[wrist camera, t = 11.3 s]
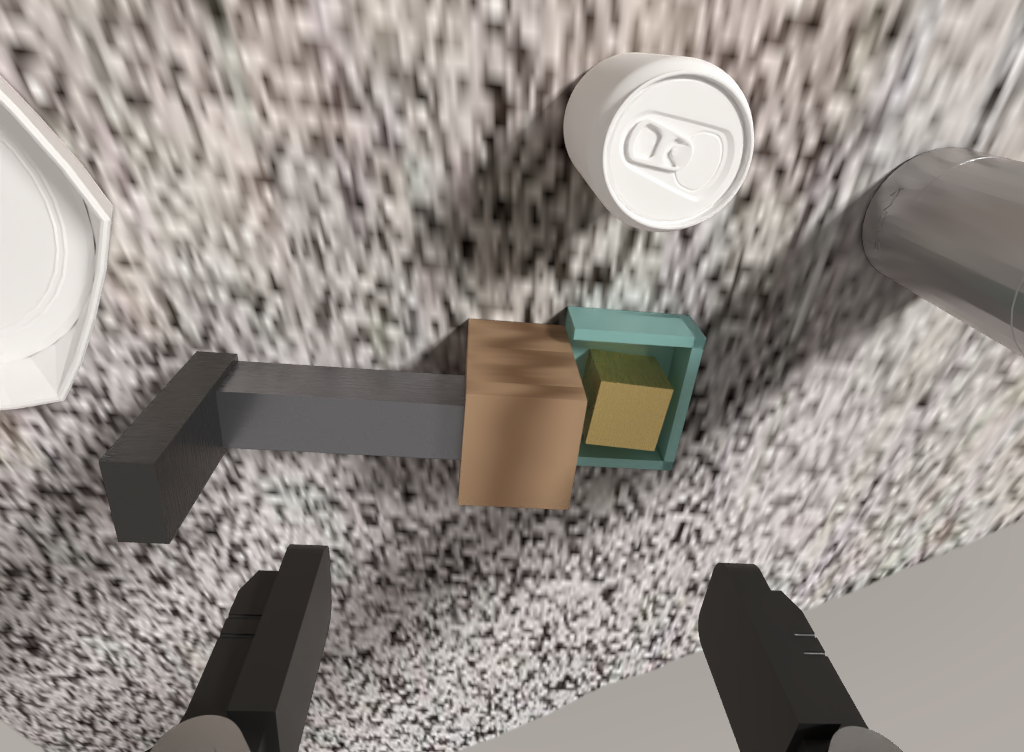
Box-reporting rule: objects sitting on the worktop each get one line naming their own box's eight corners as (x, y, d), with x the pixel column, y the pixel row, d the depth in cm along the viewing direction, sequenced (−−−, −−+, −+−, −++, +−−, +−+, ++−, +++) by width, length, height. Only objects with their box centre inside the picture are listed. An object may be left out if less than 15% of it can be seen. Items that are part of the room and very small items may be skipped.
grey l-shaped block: (527, 372, 43) (543, 483, 32) (519, 435, 45) (532, 558, 34) (196, 351, 41) (98, 461, 30) (206, 418, 43) (118, 541, 33)
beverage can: (656, 206, 43) (714, 260, 32) (543, 165, 41) (565, 208, 31) (712, 80, 40) (797, 96, 29) (591, 30, 38) (635, 28, 27)
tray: (689, 315, 47) (706, 338, 43) (658, 441, 52) (671, 470, 48) (567, 306, 46) (575, 328, 43) (548, 434, 51) (553, 464, 48)
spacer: (589, 348, 47) (655, 357, 47) (575, 407, 49) (638, 414, 50) (601, 380, 42) (673, 389, 43) (585, 443, 45) (654, 451, 45)
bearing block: (564, 325, 47) (587, 401, 37) (551, 418, 50) (568, 509, 41) (468, 318, 46) (466, 393, 36) (461, 413, 50) (458, 504, 40)
